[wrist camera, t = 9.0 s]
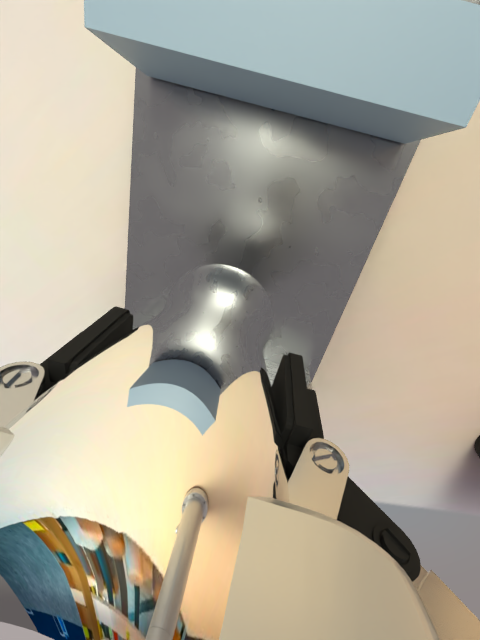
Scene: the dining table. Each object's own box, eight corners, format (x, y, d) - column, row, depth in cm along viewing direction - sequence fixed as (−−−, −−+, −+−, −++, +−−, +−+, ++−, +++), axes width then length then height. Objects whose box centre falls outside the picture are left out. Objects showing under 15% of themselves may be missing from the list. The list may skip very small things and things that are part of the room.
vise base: (156, -67, 14) (47, -284, 8) (465, 14, 14) (632, -132, 7) (130, 352, 26) (79, 411, 19) (298, 396, 26) (305, 471, 19)
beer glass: (142, 269, 15) (-685, 831, 2) (268, 241, 14) (144, 1366, 1) (182, 372, 18) (-65, 887, 5) (290, 357, 17) (348, 1020, 4)
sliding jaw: (152, -1, 14) (82, -100, 9) (435, 74, 14) (522, 16, 9) (147, 75, 15) (84, 26, 10) (405, 143, 15) (465, 127, 10)
